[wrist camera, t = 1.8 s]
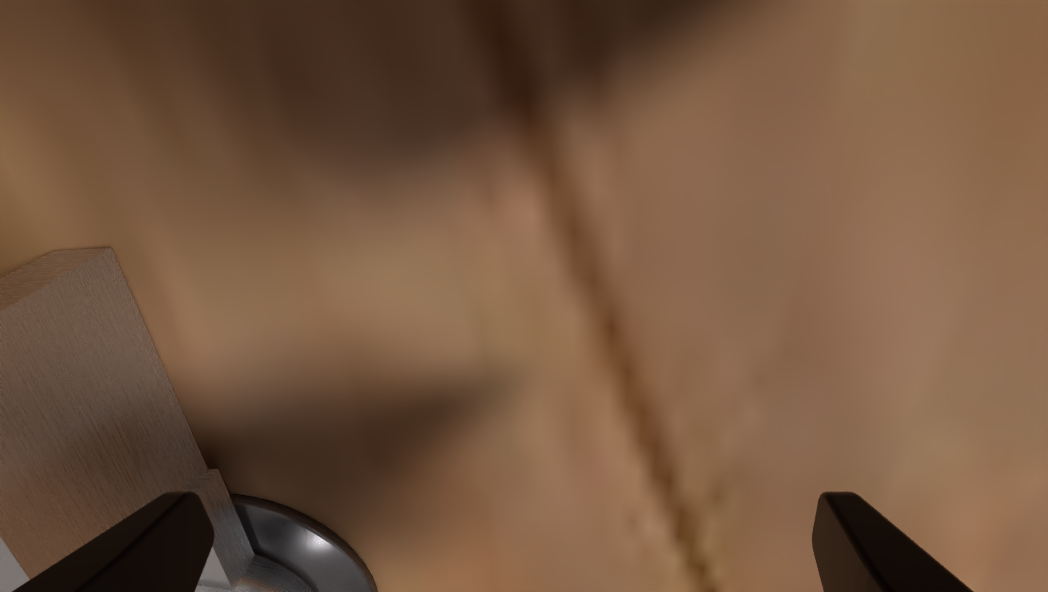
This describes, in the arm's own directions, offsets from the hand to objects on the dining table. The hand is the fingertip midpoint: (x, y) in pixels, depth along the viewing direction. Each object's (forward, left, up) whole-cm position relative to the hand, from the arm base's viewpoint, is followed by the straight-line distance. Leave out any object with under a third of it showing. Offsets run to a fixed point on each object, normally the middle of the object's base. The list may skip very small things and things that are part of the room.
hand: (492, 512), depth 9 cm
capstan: (+14, +5, -5) cm, 16 cm away
